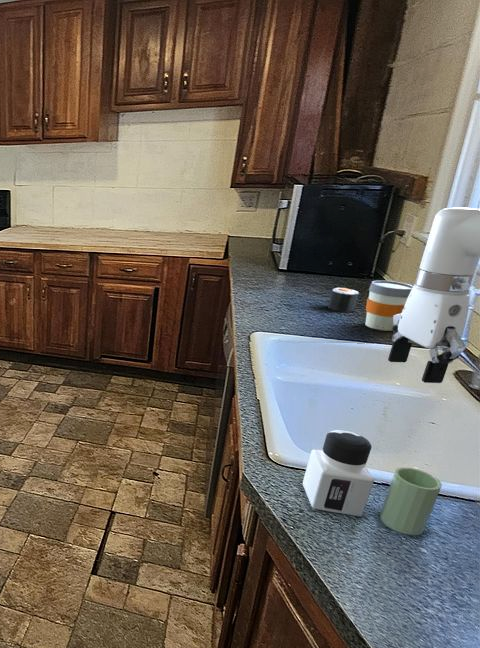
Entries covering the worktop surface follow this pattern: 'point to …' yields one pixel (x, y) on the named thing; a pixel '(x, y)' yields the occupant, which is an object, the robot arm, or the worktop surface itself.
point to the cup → (410, 501)
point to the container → (339, 474)
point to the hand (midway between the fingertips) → (413, 371)
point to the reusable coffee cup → (385, 303)
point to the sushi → (343, 299)
